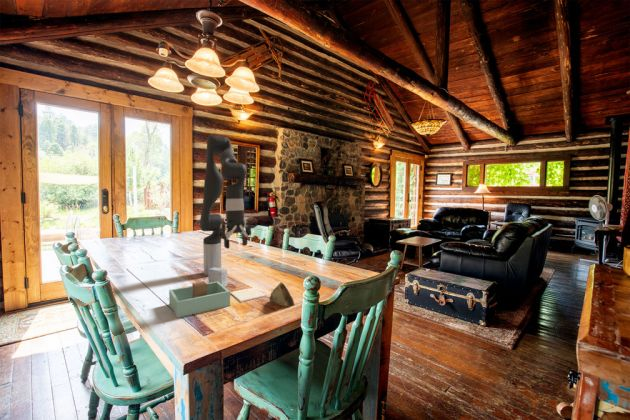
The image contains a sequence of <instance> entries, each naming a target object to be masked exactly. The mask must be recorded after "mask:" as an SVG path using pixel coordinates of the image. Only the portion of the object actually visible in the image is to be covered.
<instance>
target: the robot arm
mask: <svg viewBox="0 0 630 420" xmlns="http://www.w3.org/2000/svg"><path fill="white" fill-rule="evenodd" d="M206 141H207V142H206V166H205V176H204V182H203V183H204V184H203V185H204V186H203V199H202V207H201V212H200V213H201V214H200V220H199V227H200V230H201V232H211V234H209V235H207V236H205V237H204V238H203V241H202V244H203V246H202V247H203V248H202V249H203V275H204V276H208V270H209V269H211V268H214V267H215V268H222V240H223V246H224V248H225V249H227V250H228V249H230V237H231V236H232V235H233V234H241V236H242V238H241V239H242V240H241V241H242V242H241V244H242V246H243V247H244V246H245V247H246V246H247V245H248V237H249V236H252V228H251V227H252V226H251V222H250V221H245V204H244V203H245V202H244V185H245V180H246V177H247V172H248V171H247V167H246V165H245V164H244V163H242V162H238V160H237V157H236V156H235V155H234V152H233V150H234V149H233V146H232V142H231V140H230V139H229V138H228V137H227V136H221V135H215V134H214V135H213V134H209V135H208V137H207V140H206ZM215 155H219V158H218V159H219V163H220V165H221V166H220V167H221V168H220V169H221V170H219V169H218V167H217V165H216V161H215ZM224 179H225V180H237V181H236V183H234V184H230V185H227V186H225V198H226V199H225V200H226V201H225V220H226V223H225V224H224V223H223V218H222V215H221V214H219V213H211V212H212V211H211V210H212V208H213V206H214V205H215V203H216V202H217V201H218V199H219V198H220V197H221V195H222V193H223V187H224Z"/></svg>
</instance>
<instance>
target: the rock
mask: <svg viewBox="0 0 630 420" xmlns="http://www.w3.org/2000/svg"><path fill="white" fill-rule="evenodd" d="M269 302H273V303H275V304H277V305H279V306H282V307H294V306H296V304H295V302H294V298H293V297H292V295H291V294H290V291H289V289H288V288H287V286H286V285H285V284H284V283H283V282H279V284H278V285H277V286H276V287H274V288H273V290H272V291H271V293H270V296H269Z"/></svg>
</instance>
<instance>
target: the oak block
mask: <svg viewBox="0 0 630 420" xmlns="http://www.w3.org/2000/svg"><path fill="white" fill-rule="evenodd" d="M206 283H207V282H205V281H204V280H202V281H199V282H198V281H197V282H192V285H191V286H192V292H193V298H196V297H201V296H206V295H207V284H206Z"/></svg>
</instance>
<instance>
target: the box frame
mask: <svg viewBox="0 0 630 420" xmlns="http://www.w3.org/2000/svg"><path fill="white" fill-rule="evenodd" d="M205 283H206V284H207V295H206V296H201V297H196V298H193V292H192V285H190V286H185V287H179V288H173V289H168V293H169V294H168V297H169V298H168V299H169V300H168V301H169V305H170V308H171V310H172V312H173V311H174V312H173V313H175V314H174V315H175V317H176V318H177V319H179V318H184V317H188V316H192V314H193V315H197V314H201V313H205V311H206V312H209V311H210V312H211V311H212V310H218V309H221V308H226V307H230V306H231V291H230V290H229V289H228V288H227V287H224V286H223V285H222V284H221V283H220V282H219V281H217V282H211V283H209V282H205ZM196 313H197V314H196Z"/></svg>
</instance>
